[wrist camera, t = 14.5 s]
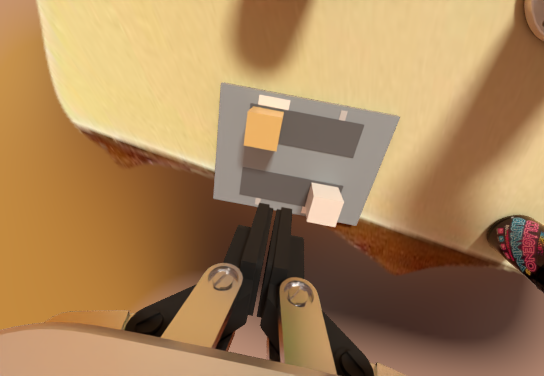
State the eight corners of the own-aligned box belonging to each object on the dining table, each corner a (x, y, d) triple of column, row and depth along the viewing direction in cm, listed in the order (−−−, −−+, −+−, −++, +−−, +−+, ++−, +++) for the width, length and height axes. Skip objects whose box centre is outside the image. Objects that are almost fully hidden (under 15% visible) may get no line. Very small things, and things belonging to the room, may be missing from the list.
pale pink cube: (338, 187, 35) (344, 202, 31) (330, 210, 36) (335, 227, 32) (311, 182, 35) (313, 196, 31) (305, 205, 36) (306, 221, 32)
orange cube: (283, 111, 31) (282, 117, 27) (278, 141, 32) (276, 151, 28) (253, 106, 31) (247, 111, 27) (249, 136, 32) (243, 145, 28)
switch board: (396, 115, 31) (400, 117, 30) (354, 221, 39) (356, 226, 37) (223, 82, 31) (220, 82, 30) (215, 195, 38) (213, 199, 37)
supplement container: (533, 206, 35) (620, 255, 26) (534, 240, 37) (614, 296, 28) (481, 221, 37) (545, 272, 27) (486, 252, 39) (546, 309, 30)
